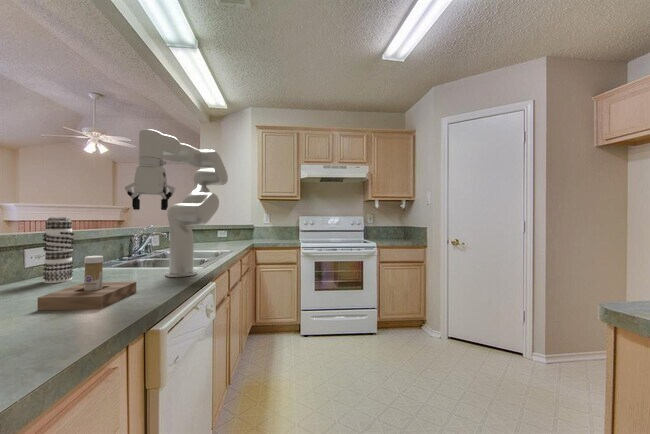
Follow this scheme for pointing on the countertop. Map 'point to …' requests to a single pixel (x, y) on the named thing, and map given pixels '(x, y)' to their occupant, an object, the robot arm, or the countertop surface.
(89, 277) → the sprinkles bottle
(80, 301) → the walnut hole board
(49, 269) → the decorative candle
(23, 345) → the countertop surface
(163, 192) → the robot arm
